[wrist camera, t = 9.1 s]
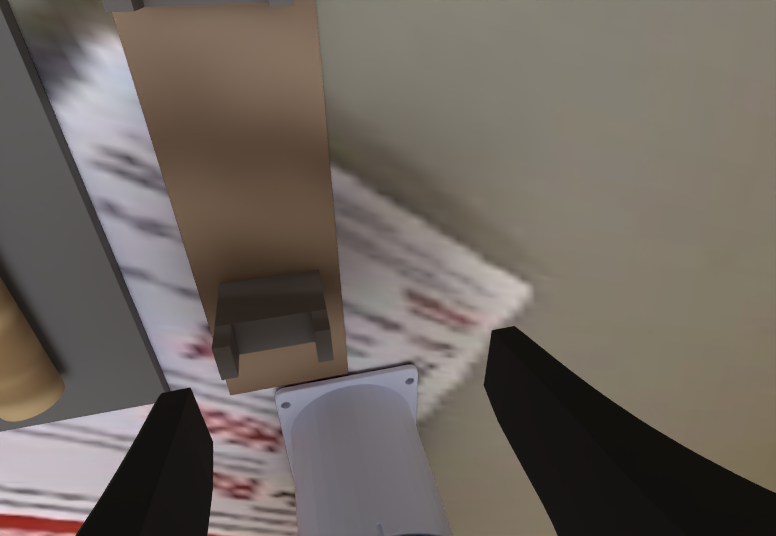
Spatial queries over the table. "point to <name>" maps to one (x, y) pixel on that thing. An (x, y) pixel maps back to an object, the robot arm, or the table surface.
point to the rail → (23, 366)
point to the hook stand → (246, 175)
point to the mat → (63, 256)
